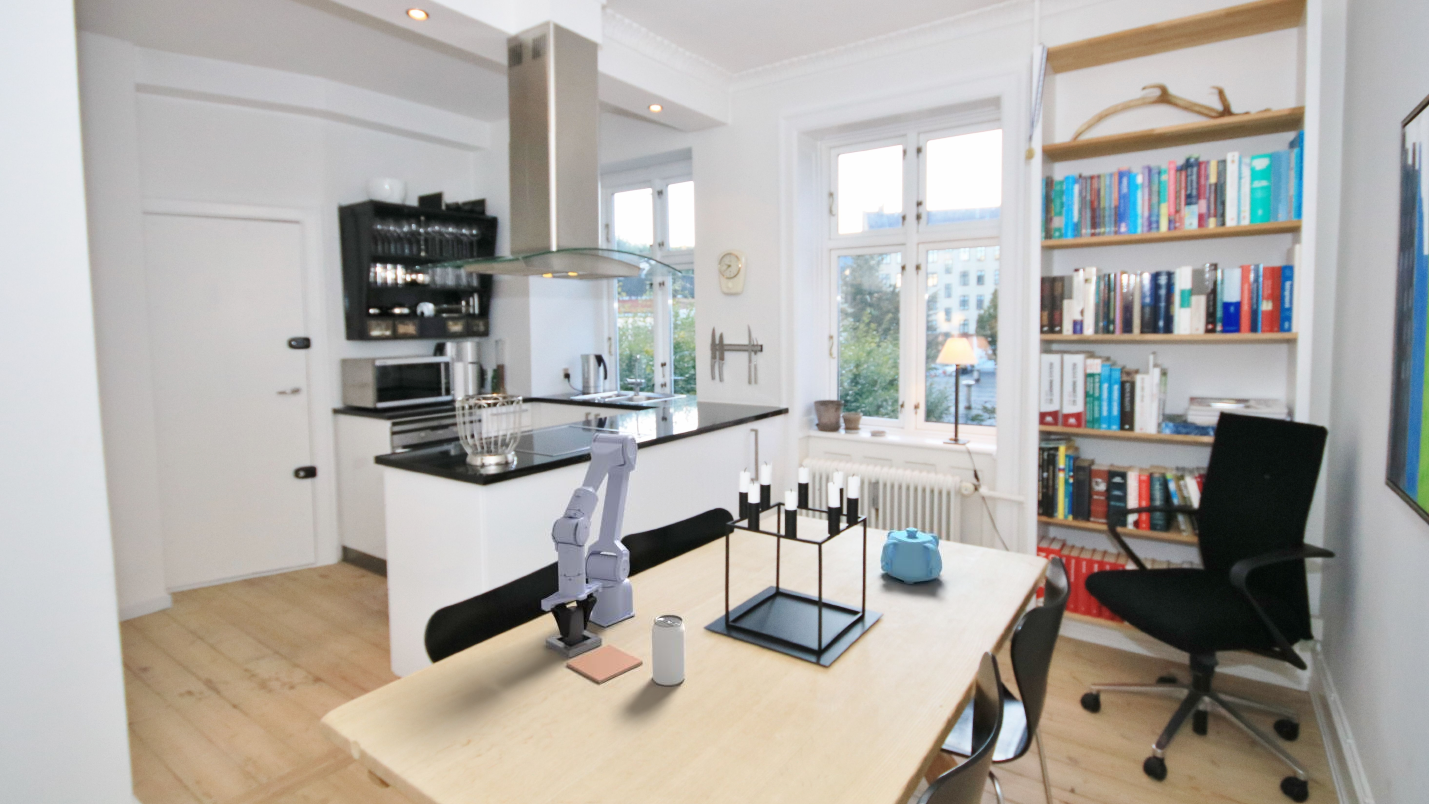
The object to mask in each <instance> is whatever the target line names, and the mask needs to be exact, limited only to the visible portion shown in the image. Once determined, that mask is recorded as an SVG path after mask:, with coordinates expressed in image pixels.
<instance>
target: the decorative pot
mask: <svg viewBox="0 0 1429 804" xmlns="http://www.w3.org/2000/svg"><path fill="white" fill-rule="evenodd" d="M939 545H940V539H939V536H938V535H936V534H935V533H924V532H921V531H919V529H918V528H916V527H907V528H905V530H897V529H892V530H890V531H888V533H887V535H886V542H885V543H884V544H883V546H882V551H881V556H880V565H881V566H880V568H881V570H882V572H884V573H887V574H888V575H889V576H891V577H893V578H895V579H898V580H902V581H903V583H905V584H909V585H913V584H914V583H919V582H925V581H932V580H935V579H937V577H939V576H940V574H941V573H942V570H943V561H942V560H943V559H942V556H941V552H940V550H939Z"/></svg>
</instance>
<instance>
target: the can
mask: <svg viewBox="0 0 1429 804" xmlns="http://www.w3.org/2000/svg"><path fill="white" fill-rule="evenodd" d="M683 621H684V620H683V618H682V617H681V616H679V615H675V614H663V615H659V616H658V617H657V616H656V618H654V620H653V625H652V628H651V646H652V647H651V648H652V649H651V650H652V658H651V661H652V664H651V665H652V679H653V681H654V682H655V684H657V685H659V686H665V687H672V686H676V685H677V686H678V685H680V684H681V683H683V682H684V680H685V678H686V628H685V627H686V626H685V625H684V623H683Z"/></svg>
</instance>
